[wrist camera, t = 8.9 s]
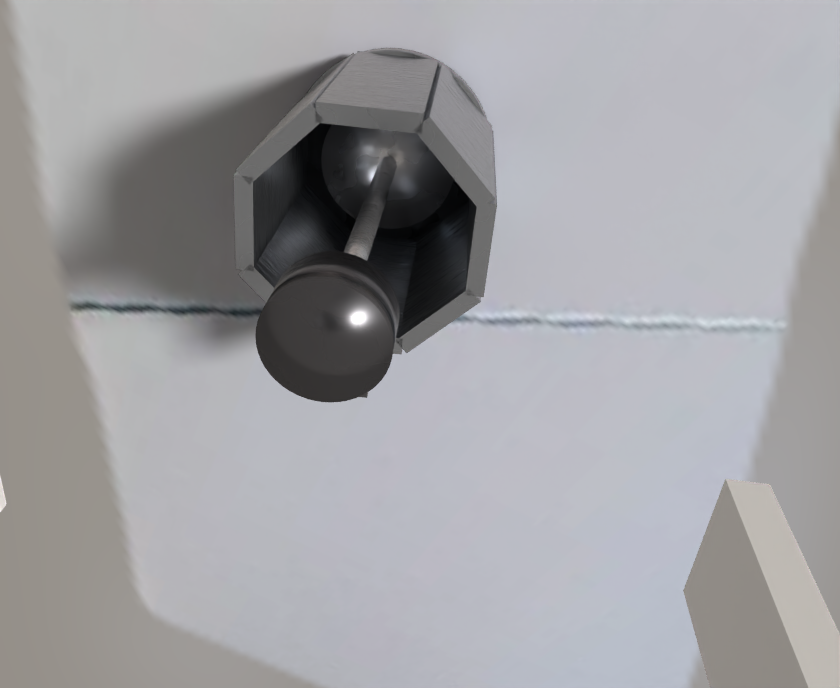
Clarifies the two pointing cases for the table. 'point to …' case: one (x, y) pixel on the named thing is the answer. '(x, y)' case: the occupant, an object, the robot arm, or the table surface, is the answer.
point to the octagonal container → (331, 226)
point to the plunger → (350, 269)
